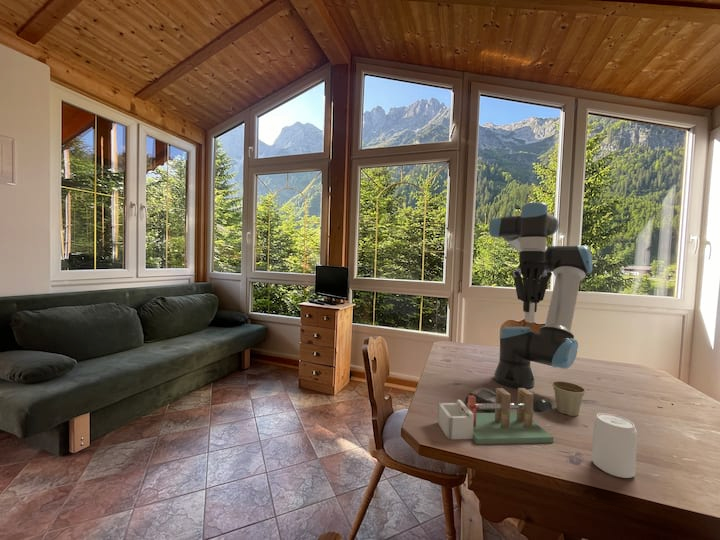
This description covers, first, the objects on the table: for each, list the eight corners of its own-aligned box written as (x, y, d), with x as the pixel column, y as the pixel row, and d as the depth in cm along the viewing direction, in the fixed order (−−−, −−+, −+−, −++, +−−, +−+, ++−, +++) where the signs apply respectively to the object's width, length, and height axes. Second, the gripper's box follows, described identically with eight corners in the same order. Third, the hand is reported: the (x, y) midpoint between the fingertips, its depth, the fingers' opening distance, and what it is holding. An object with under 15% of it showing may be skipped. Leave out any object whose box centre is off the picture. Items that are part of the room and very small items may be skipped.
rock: (461, 406, 105) (462, 390, 105) (470, 395, 115) (471, 381, 115) (507, 419, 97) (508, 402, 97) (513, 406, 106) (513, 391, 106)
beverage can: (583, 458, 78) (585, 412, 78) (612, 457, 79) (615, 411, 78) (612, 481, 70) (614, 429, 70) (644, 480, 71) (647, 428, 70)
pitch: (522, 416, 99) (522, 412, 98) (553, 442, 85) (553, 437, 85) (456, 417, 97) (456, 413, 97) (477, 444, 83) (477, 438, 83)
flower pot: (574, 421, 97) (575, 394, 97) (544, 408, 105) (546, 383, 105) (590, 415, 101) (591, 389, 101) (560, 403, 109) (561, 379, 109)
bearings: (522, 420, 93) (524, 387, 93) (532, 428, 89) (533, 394, 89) (494, 420, 93) (496, 388, 92) (502, 428, 88) (504, 394, 88)
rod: (543, 418, 94) (544, 393, 93) (551, 425, 90) (552, 398, 90) (465, 420, 91) (466, 393, 91) (471, 426, 88) (472, 399, 88)
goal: (459, 422, 94) (460, 399, 94) (472, 438, 85) (473, 414, 85) (437, 422, 94) (438, 399, 93) (448, 439, 85) (449, 414, 84)
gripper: (543, 251, 105) (540, 320, 105) (507, 250, 104) (504, 319, 104) (559, 250, 97) (556, 324, 98) (520, 249, 96) (517, 323, 97)
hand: (529, 321), depth 101 cm, fingers closed
